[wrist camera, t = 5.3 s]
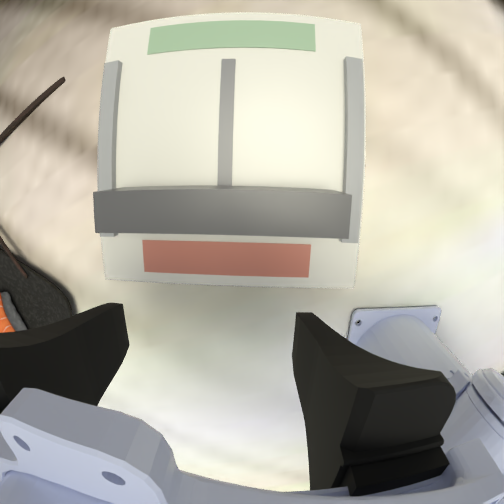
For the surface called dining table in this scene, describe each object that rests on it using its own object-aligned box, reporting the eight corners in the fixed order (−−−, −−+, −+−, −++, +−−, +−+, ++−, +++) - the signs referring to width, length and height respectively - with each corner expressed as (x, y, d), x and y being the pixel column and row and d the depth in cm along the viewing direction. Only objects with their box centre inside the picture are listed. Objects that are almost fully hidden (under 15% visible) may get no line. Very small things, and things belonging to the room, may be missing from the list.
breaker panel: (343, 275, 21) (356, 291, 18) (120, 267, 21) (101, 282, 18) (350, 38, 16) (363, 19, 13) (125, 41, 16) (107, 25, 13)
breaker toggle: (330, 225, 17) (348, 239, 13) (124, 220, 17) (95, 232, 13) (332, 189, 16) (352, 194, 13) (123, 187, 16) (93, 192, 13)
